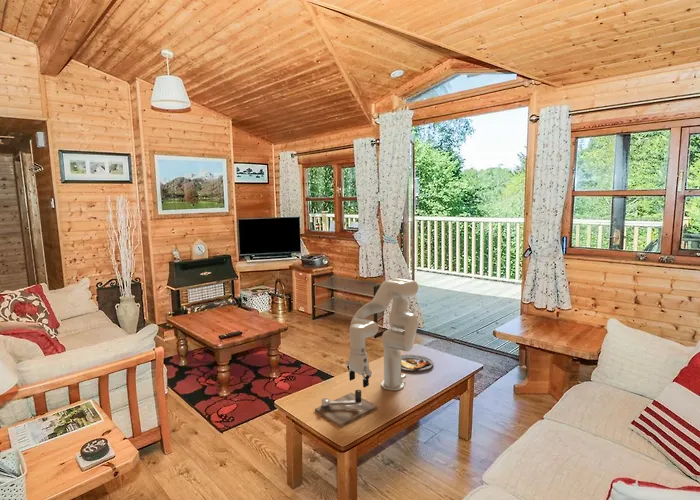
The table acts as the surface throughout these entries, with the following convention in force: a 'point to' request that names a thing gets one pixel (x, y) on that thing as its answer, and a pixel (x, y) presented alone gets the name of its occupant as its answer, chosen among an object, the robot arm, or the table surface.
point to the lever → (327, 402)
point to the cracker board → (346, 411)
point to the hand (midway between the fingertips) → (359, 382)
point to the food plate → (415, 363)
